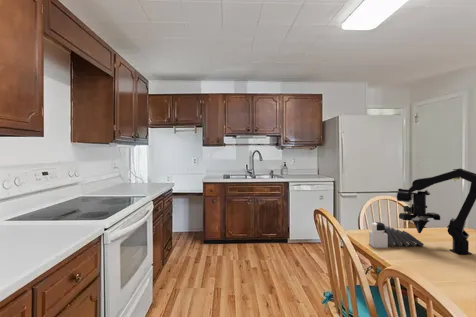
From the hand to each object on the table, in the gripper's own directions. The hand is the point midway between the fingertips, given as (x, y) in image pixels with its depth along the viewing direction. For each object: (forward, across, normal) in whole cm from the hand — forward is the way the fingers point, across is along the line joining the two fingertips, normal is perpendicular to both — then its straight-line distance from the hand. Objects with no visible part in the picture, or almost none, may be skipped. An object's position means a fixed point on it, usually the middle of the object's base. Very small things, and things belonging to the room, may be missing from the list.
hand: (419, 232), depth 163 cm
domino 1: (+6, +15, 0) cm, 16 cm away
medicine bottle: (+7, +22, 0) cm, 23 cm away
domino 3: (+6, +7, 0) cm, 9 cm away
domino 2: (+6, +11, 0) cm, 12 cm away
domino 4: (+6, +3, 0) cm, 7 cm away
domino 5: (+6, 0, 0) cm, 6 cm away
